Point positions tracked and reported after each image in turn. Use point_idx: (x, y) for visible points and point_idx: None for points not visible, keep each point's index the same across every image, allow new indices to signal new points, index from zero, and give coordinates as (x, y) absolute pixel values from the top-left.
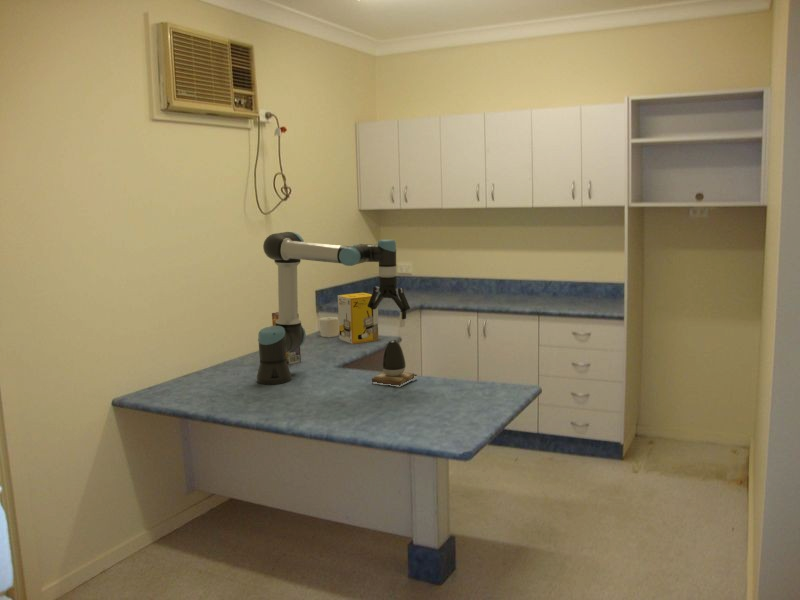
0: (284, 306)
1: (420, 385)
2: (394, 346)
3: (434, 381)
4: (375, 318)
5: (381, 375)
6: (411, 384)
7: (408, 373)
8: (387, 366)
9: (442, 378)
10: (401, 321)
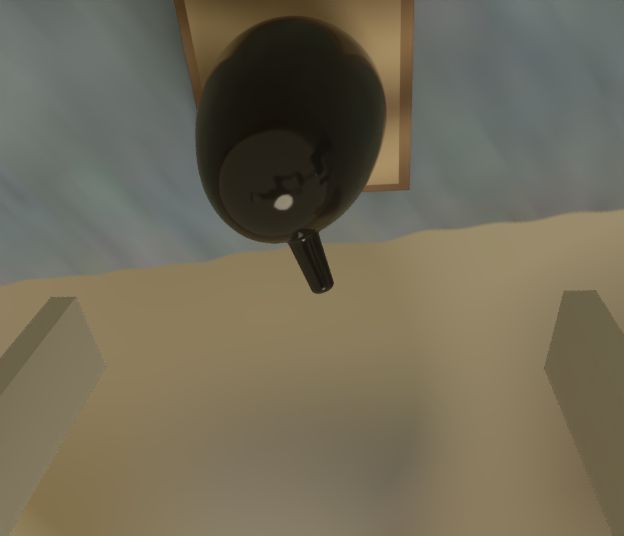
0: None
1: (122, 97)
2: (215, 140)
3: (127, 202)
4: (598, 385)
5: (374, 41)
6: (179, 89)
7: None
8: (280, 20)
9: (139, 264)
10: (2, 363)
